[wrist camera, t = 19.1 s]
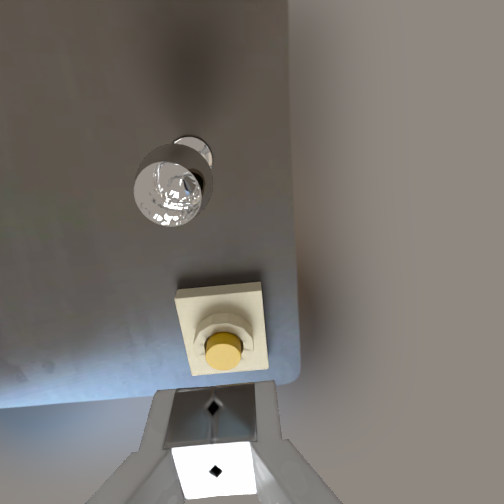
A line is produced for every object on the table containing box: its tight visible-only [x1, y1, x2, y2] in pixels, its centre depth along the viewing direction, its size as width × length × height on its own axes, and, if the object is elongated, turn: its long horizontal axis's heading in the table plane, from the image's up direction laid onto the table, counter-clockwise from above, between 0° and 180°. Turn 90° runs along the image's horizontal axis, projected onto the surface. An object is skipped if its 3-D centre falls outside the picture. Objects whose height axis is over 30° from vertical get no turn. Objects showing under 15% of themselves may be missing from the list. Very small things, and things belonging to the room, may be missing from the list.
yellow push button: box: [205, 332, 241, 370], centre depth 40 cm, size 4×4×2 cm
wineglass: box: [134, 137, 213, 226], centre depth 29 cm, size 6×6×12 cm
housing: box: [175, 282, 269, 376], centre depth 42 cm, size 12×10×4 cm
